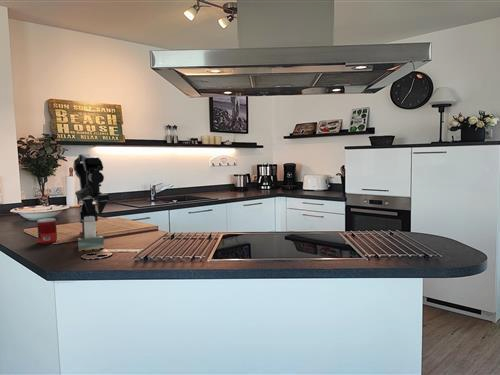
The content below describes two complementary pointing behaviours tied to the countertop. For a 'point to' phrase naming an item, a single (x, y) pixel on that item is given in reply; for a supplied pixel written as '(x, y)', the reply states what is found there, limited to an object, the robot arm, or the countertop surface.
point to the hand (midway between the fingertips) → (94, 213)
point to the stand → (90, 243)
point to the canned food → (47, 230)
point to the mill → (89, 227)
